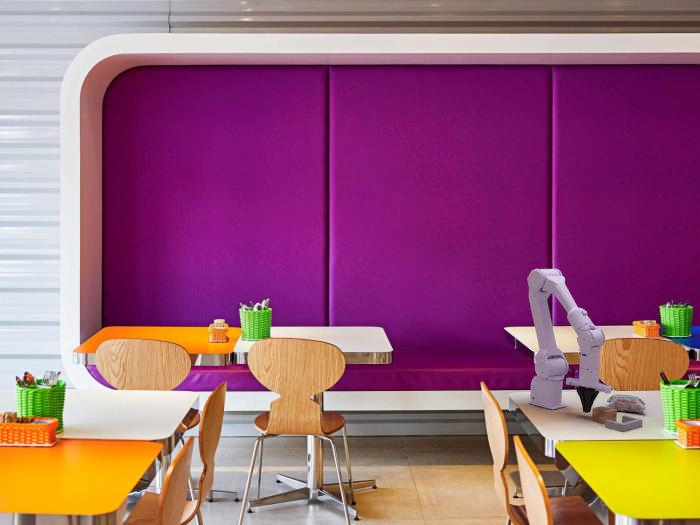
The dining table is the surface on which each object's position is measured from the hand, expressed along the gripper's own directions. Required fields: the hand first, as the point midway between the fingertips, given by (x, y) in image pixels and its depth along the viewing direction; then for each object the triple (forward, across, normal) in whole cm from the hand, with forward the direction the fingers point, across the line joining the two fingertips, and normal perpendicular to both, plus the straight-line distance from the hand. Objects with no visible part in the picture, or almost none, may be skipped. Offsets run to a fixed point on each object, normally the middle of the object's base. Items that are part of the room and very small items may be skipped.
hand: (586, 412), depth 233 cm
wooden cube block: (+2, -6, 0) cm, 6 cm away
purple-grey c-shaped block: (+2, -12, 0) cm, 13 cm away
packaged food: (+2, -3, -18) cm, 18 cm away
